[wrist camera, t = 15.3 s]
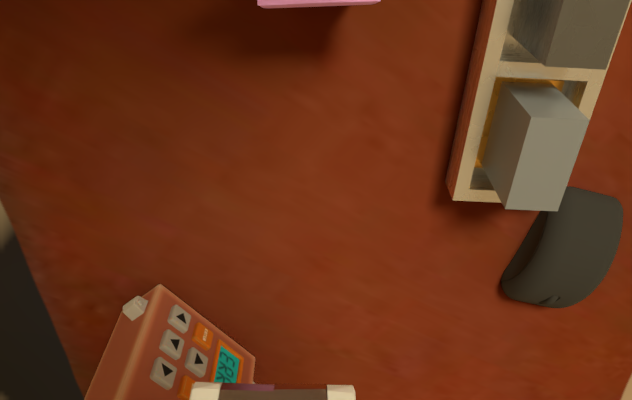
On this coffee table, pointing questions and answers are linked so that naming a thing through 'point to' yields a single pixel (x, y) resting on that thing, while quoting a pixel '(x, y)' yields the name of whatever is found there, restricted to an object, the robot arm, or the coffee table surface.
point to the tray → (529, 70)
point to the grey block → (532, 145)
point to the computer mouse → (566, 251)
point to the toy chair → (311, 3)
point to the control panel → (166, 352)
